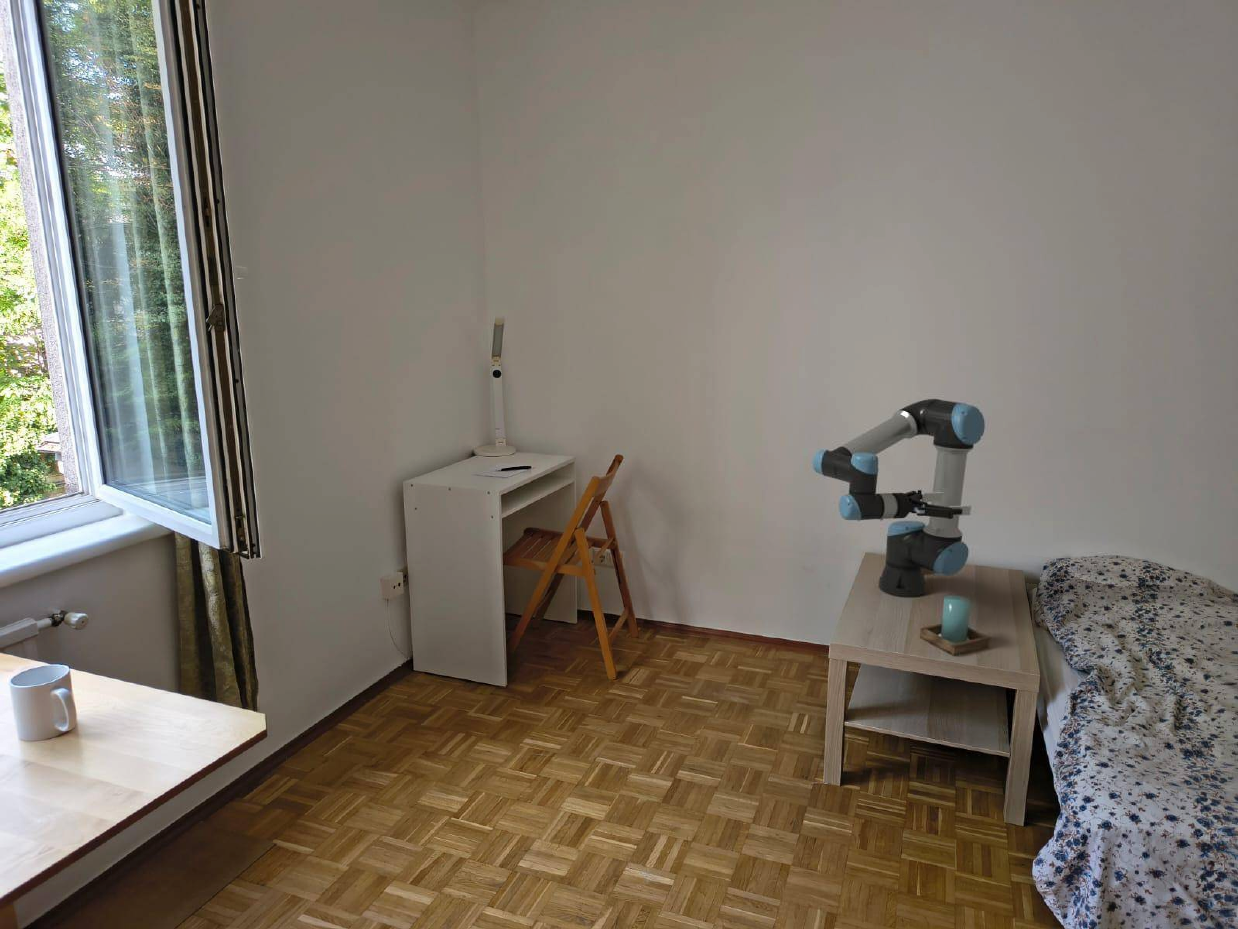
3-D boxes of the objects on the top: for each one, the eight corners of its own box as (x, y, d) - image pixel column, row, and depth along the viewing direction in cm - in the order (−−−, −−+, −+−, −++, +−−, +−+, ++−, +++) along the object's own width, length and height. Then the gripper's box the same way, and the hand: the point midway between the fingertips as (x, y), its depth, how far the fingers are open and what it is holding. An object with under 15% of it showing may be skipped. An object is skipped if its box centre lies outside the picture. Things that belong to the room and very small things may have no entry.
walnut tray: (919, 637, 247) (920, 628, 247) (953, 629, 252) (954, 620, 252) (953, 656, 236) (954, 646, 235) (988, 647, 241) (989, 637, 240)
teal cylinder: (935, 636, 246) (938, 598, 243) (953, 632, 248) (957, 594, 246) (953, 646, 239) (957, 606, 237) (972, 641, 242) (976, 602, 239)
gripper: (869, 505, 261) (930, 503, 266) (913, 531, 237) (980, 528, 241) (871, 482, 259) (932, 480, 264) (916, 506, 235) (983, 503, 240)
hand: (956, 503), depth 253 cm, fingers open, 13 cm apart
